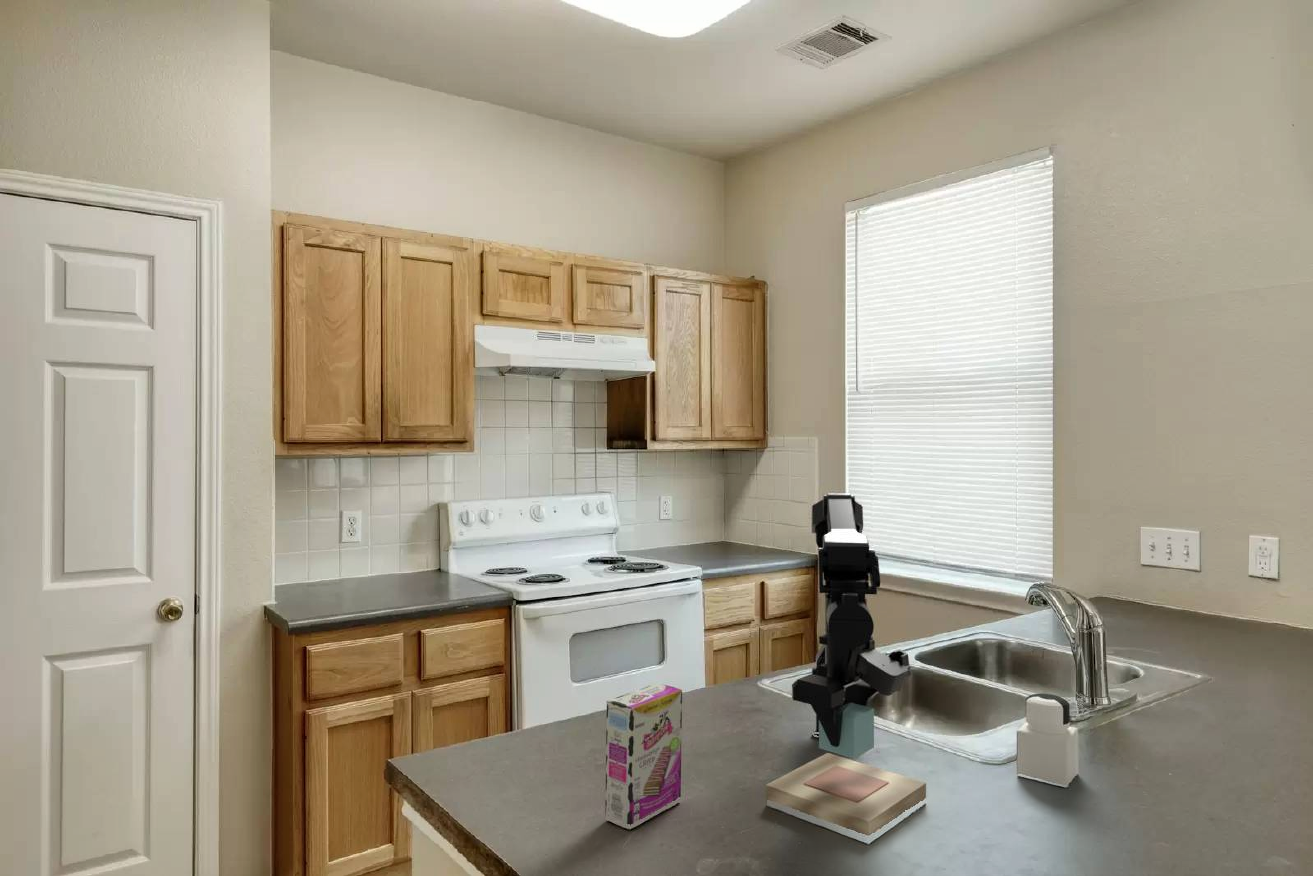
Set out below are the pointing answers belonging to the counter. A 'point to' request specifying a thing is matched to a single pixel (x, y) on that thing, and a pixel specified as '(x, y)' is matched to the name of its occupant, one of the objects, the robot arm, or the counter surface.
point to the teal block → (852, 732)
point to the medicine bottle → (1047, 740)
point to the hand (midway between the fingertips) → (846, 740)
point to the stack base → (847, 793)
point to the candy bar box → (643, 752)
